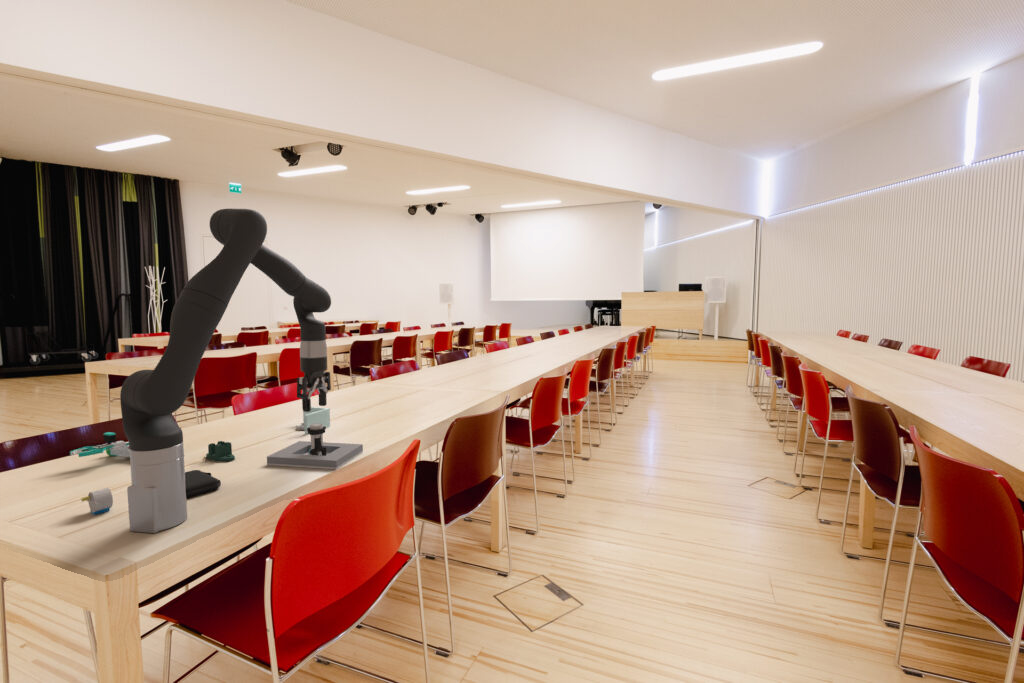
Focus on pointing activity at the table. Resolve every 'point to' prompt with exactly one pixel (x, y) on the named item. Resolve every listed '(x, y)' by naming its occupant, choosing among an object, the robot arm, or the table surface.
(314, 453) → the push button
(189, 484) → the carrying case or bag
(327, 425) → the l-shaped corner panel
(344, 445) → the plate
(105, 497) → the electric motor
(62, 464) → the table surface
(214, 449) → the mount
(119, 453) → the robot kit
